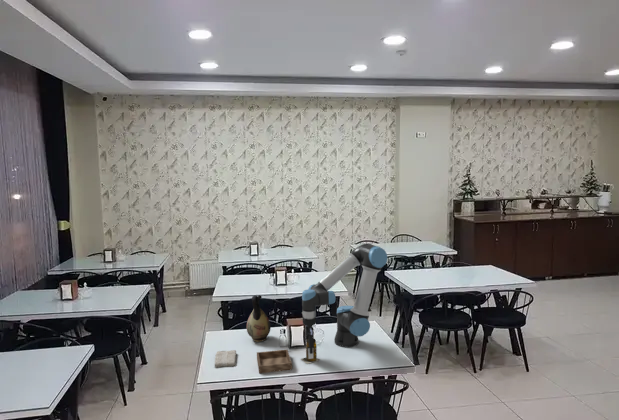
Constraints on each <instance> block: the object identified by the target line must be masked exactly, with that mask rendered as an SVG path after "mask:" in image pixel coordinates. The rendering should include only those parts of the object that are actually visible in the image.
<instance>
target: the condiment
mask: <svg viewBox="0 0 619 420" xmlns="http://www.w3.org/2000/svg"><path fill="white" fill-rule="evenodd" d="M316 342H317V340H316V339H315V338H314V348H313V359H309V355H308V347H309V342H308V339H307V342H306V343H307V344H306V343H305V356H306V357H303V358H300V360H301V361H302V362H304V363H305V364H307V365H308V364H311V363H316V362H318V361H320V359H319V358H317V343H316Z"/></svg>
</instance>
